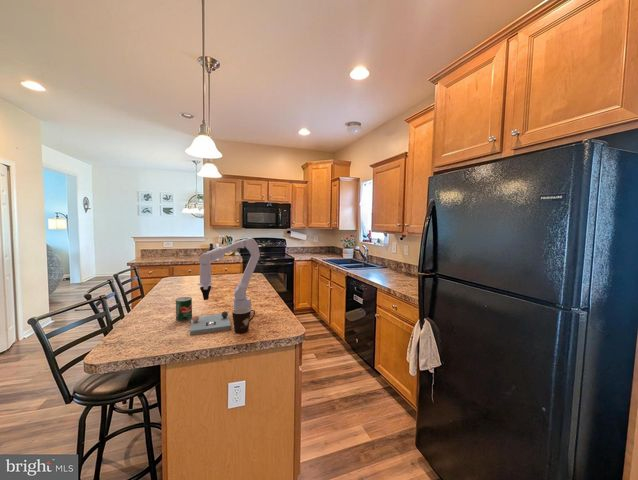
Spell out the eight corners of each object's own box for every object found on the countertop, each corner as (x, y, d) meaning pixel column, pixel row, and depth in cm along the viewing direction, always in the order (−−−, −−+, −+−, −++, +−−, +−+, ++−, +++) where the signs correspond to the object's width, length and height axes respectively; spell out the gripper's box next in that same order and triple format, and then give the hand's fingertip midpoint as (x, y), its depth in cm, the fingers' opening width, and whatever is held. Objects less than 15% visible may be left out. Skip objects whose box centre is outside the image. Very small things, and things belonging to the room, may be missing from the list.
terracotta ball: (199, 320, 137) (199, 314, 137) (199, 322, 134) (198, 316, 134) (192, 321, 136) (192, 314, 136) (192, 323, 133) (191, 316, 133)
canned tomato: (185, 322, 140) (185, 301, 140) (172, 320, 142) (172, 300, 141) (195, 317, 148) (195, 297, 147) (182, 315, 150) (182, 296, 149)
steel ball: (214, 324, 135) (214, 319, 133) (214, 329, 132) (214, 324, 131) (207, 325, 134) (207, 320, 132) (207, 330, 131) (207, 325, 129)
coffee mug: (234, 336, 123) (233, 314, 122) (230, 329, 131) (230, 309, 130) (259, 331, 128) (258, 311, 128) (254, 325, 136) (254, 306, 135)
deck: (227, 316, 149) (227, 312, 149) (231, 329, 131) (231, 325, 131) (192, 320, 142) (191, 317, 142) (190, 335, 124) (190, 331, 124)
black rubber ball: (227, 316, 144) (227, 310, 144) (228, 318, 141) (228, 312, 141) (221, 316, 143) (221, 310, 142) (221, 318, 140) (221, 312, 139)
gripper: (197, 273, 151) (198, 297, 152) (197, 278, 138) (197, 304, 139) (211, 272, 154) (211, 295, 155) (211, 277, 141) (212, 302, 141)
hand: (205, 299), depth 147 cm, fingers closed
